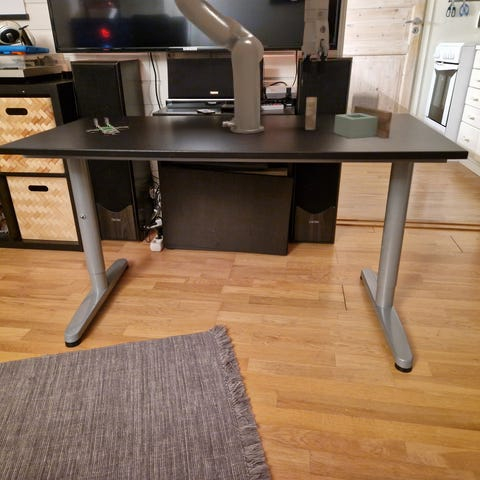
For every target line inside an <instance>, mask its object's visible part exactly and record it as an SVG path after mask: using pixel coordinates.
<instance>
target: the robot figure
mask: <svg viewBox="0 0 480 480" xmlns="http://www.w3.org/2000/svg"><path fill="white" fill-rule="evenodd" d="M93 121H94V126H96V129H88V130H85V133H86V132H90V131H99V130H101V131H102V132H101V131H100V132H101V133H102V134H103V133H104V134H103V135H105V134H112V135H116V134H115V133H120V134H121V131H119V130H120V129H119V128H128V129H130V126H128V125H127V126H117V127H114V126H113V125H111V124H110V122H109V118H108V117H104V123H105V126H102V127H101V126H100V125H99V123H98V118H94V119H93ZM106 125H107V126H106ZM108 126H109V127H108ZM97 127H98V128H99V129H98V128H97ZM117 129H119V130H117Z"/></svg>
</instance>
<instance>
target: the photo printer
mask: <svg viewBox="0 0 480 480" xmlns="http://www.w3.org/2000/svg"><path fill="white" fill-rule="evenodd" d="M379 100H380V95H379V92H377V91H374V90H367V89H363V90H356V91H354V92H353V95H352V99H351V107H350V108H351V109H350V114H354V108H355V106H364V107H369V108H374V109H378V108H379ZM378 110H379V109H378Z"/></svg>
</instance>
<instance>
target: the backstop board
mask: <svg viewBox="0 0 480 480" xmlns="http://www.w3.org/2000/svg"><path fill="white" fill-rule="evenodd" d="M355 113H363V114H367V115H371V116H375V117H378V124H377V132H376V136H375V137H378V138H382V139H388V138H390V132H391V124H392V117H393V112H391V111H387V110H382V109H374V108H369V107H364V106H355V108H354V114H355Z"/></svg>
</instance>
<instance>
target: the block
mask: <svg viewBox="0 0 480 480" xmlns="http://www.w3.org/2000/svg"><path fill="white" fill-rule="evenodd" d="M334 115H335V118H334V126H333V127H334V128H333V134H336V135H339V136H341V137H345V138H347V139H357V138H360V139H361V138H367V137H377V136H376V132H377V124H378V117H375V116H371V115H367V114H363V113H355V114H351V113H347V114H346V113H344V114H334Z"/></svg>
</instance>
